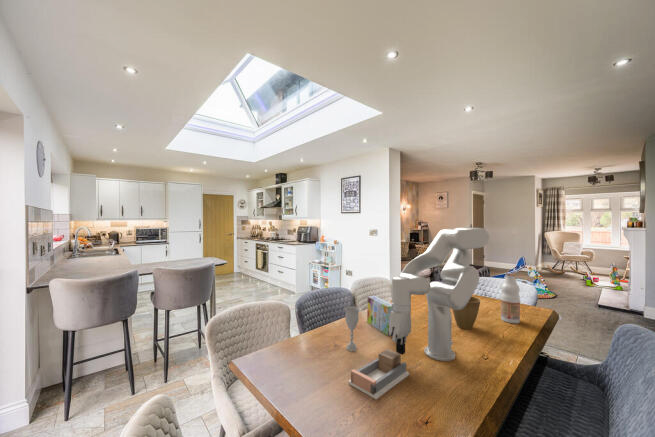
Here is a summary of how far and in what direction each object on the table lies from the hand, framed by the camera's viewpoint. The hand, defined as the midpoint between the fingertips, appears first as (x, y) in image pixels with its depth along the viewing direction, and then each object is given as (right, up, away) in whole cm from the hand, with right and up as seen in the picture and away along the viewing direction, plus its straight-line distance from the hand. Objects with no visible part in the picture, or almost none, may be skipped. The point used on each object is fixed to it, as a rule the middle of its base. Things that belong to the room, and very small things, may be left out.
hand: (400, 352), depth 111 cm
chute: (-10, -5, -10) cm, 15 cm away
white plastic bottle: (+79, -7, +52) cm, 94 cm away
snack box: (-1, -6, +38) cm, 39 cm away
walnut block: (-6, -4, -6) cm, 9 cm away
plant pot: (+47, -6, +41) cm, 63 cm away
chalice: (-19, -5, +14) cm, 24 cm away
